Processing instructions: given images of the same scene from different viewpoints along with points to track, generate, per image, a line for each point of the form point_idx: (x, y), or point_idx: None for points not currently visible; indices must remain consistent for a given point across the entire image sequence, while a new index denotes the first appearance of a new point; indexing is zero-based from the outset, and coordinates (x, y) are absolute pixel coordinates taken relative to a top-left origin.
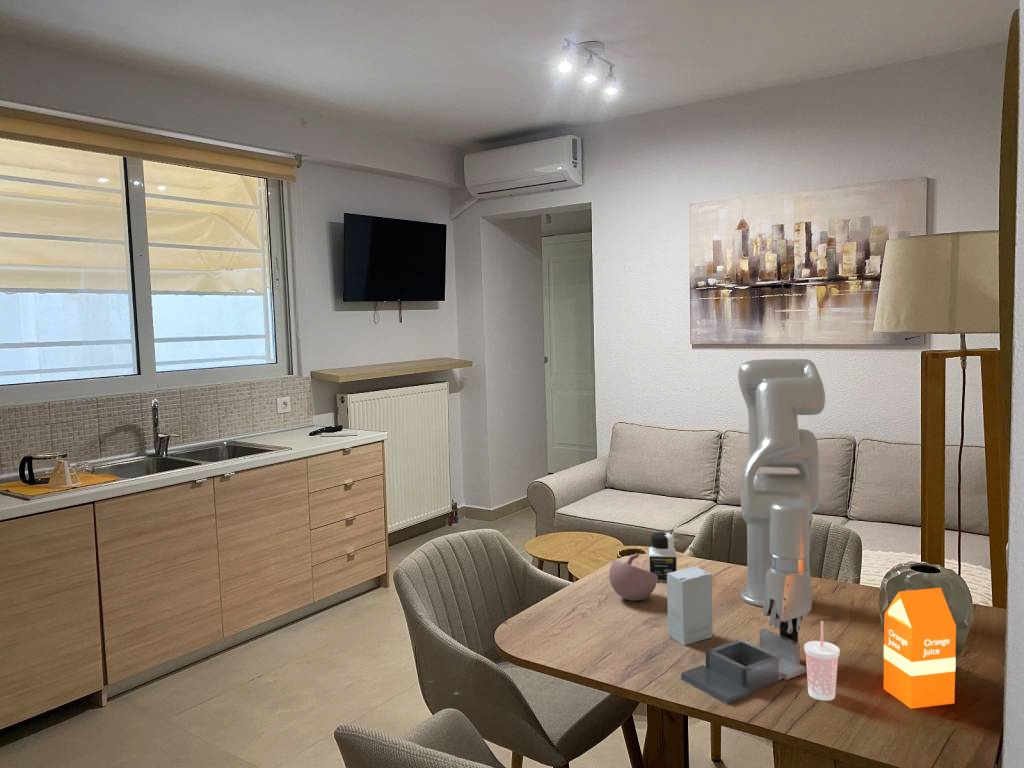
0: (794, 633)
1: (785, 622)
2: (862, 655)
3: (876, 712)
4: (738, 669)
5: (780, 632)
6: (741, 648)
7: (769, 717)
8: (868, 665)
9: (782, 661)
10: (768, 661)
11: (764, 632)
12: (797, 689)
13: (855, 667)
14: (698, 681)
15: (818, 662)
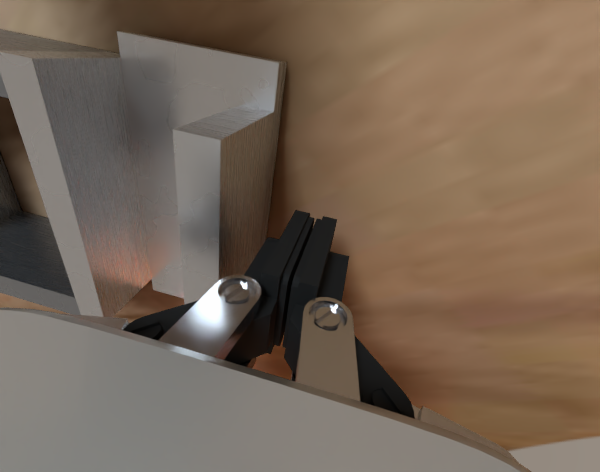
0: (269, 351)
1: (301, 323)
2: (540, 398)
3: None
4: None
5: (270, 258)
6: None
7: (13, 302)
8: (455, 413)
9: (116, 309)
10: (29, 297)
11: (180, 178)
12: (157, 310)
13: (413, 391)
14: None
15: None
